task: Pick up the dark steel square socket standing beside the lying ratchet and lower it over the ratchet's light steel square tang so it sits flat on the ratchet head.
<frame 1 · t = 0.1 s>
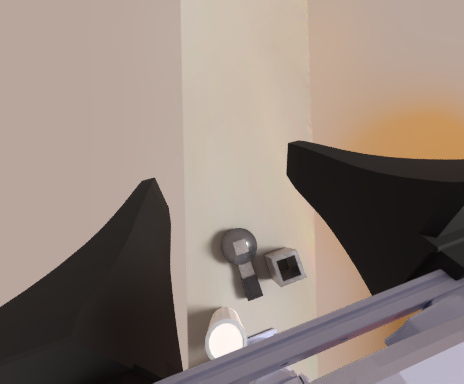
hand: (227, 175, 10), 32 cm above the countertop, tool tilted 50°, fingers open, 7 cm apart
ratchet: (238, 245, 41), on the countertop
shot glass: (224, 322, 38), on the countertop
socket: (278, 262, 41), on the countertop
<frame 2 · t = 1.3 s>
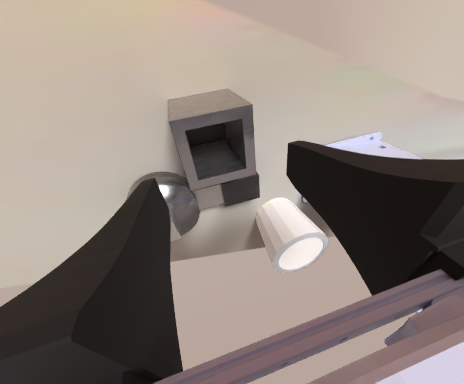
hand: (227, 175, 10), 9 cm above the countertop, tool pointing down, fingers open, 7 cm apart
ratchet: (164, 200, 21), on the countertop
shot glass: (273, 212, 27), on the countertop
socket: (204, 124, 17), on the countertop
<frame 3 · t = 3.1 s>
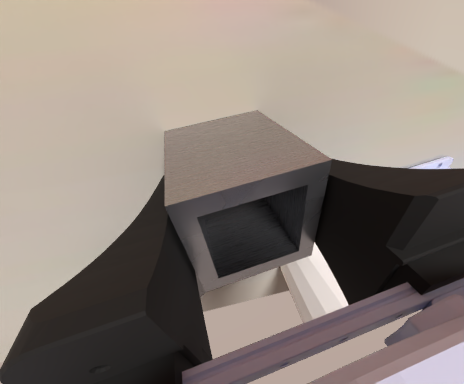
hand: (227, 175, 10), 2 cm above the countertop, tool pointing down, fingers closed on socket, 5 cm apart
shot glass: (302, 255, 21), on the countertop
socket: (220, 162, 12), on the countertop, touching gripper
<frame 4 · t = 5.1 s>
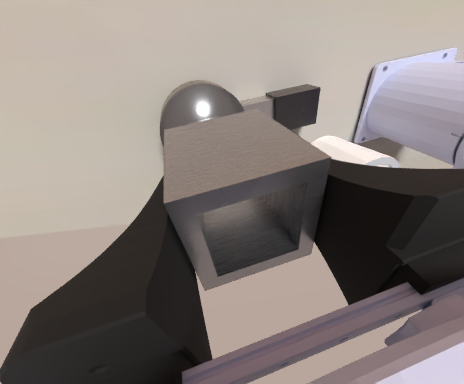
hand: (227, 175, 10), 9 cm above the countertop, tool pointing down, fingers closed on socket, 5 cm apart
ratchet: (202, 125, 17), on the countertop
shot glass: (319, 157, 24), on the countertop
socket: (220, 161, 12), point 7 cm above the countertop, touching gripper
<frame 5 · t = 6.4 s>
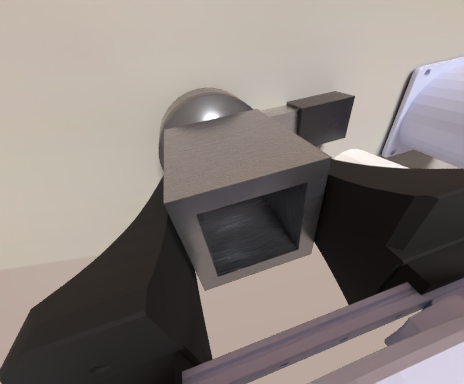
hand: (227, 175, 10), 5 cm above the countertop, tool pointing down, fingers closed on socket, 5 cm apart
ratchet: (209, 140, 14), on the countertop
shot glass: (341, 173, 21), on the countertop
socket: (220, 160, 12), point 3 cm above the countertop, touching gripper
when the fingers open (5 cm above the countertop, at t = 7.2 s): socket drops 1 cm, resting on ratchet.
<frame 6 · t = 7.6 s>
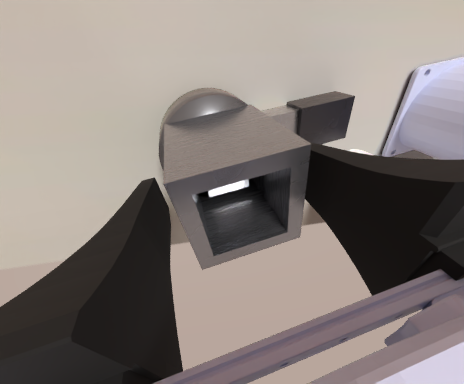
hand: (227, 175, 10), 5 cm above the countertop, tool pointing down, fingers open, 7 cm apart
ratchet: (209, 140, 14), on the countertop, touching socket
socket: (217, 154, 12), point 2 cm above the countertop, touching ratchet
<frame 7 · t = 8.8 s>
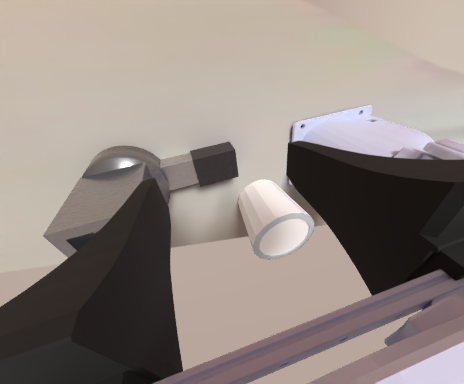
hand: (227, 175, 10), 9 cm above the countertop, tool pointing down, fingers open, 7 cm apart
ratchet: (131, 179, 19), on the countertop, touching socket
shot glass: (258, 197, 25), on the countertop
socket: (127, 194, 17), point 2 cm above the countertop, touching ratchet
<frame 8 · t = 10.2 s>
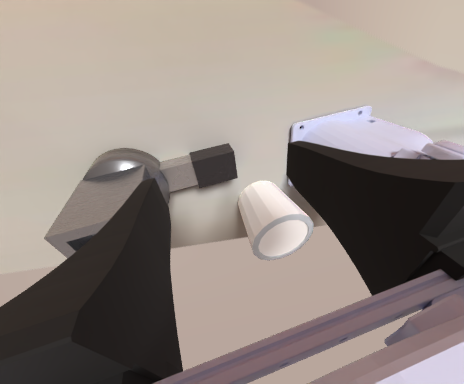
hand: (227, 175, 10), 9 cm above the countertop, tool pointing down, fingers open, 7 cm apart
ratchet: (131, 181, 19), on the countertop, touching socket
shot glass: (257, 197, 25), on the countertop
socket: (128, 196, 17), point 2 cm above the countertop, touching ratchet
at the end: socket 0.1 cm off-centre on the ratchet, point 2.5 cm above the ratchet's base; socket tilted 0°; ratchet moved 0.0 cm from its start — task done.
